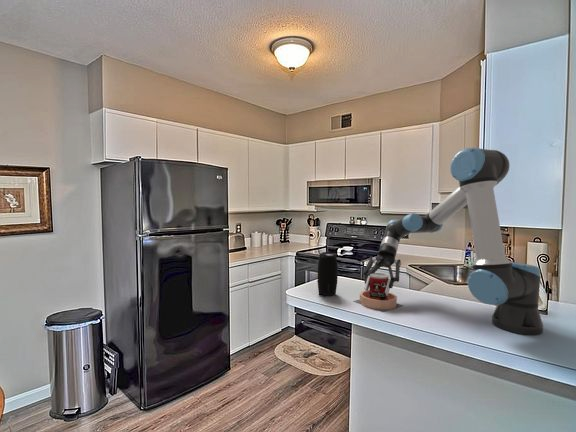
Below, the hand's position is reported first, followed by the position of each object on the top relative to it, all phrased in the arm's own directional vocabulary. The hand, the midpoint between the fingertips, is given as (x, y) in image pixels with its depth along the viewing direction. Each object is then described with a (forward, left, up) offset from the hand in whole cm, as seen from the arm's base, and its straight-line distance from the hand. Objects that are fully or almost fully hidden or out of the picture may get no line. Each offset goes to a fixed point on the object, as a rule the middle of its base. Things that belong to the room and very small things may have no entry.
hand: (375, 292), depth 137 cm
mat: (+1, -3, -6) cm, 7 cm away
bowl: (+1, -3, -6) cm, 7 cm away
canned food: (+1, -3, -5) cm, 6 cm away
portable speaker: (+23, +6, -6) cm, 25 cm away
